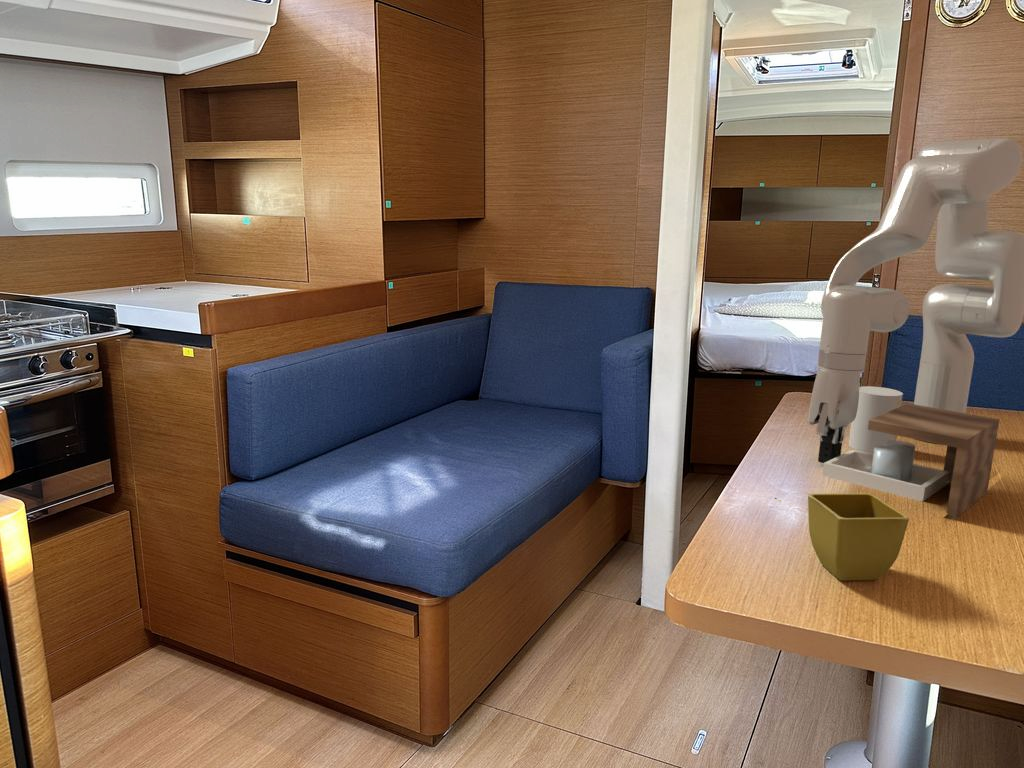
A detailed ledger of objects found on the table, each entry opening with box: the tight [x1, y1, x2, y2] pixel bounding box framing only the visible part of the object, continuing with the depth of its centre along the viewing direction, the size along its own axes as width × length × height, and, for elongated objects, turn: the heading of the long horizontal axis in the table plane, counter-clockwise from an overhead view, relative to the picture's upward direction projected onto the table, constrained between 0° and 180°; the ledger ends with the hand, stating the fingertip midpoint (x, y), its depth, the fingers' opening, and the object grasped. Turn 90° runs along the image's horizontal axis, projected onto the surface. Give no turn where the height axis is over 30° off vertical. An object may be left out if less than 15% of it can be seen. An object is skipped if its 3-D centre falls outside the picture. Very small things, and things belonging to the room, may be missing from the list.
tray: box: [821, 449, 949, 503], centre depth 129 cm, size 12×16×3 cm
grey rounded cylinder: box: [886, 439, 916, 482], centre depth 130 cm, size 4×4×6 cm
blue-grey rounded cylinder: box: [871, 446, 904, 480], centre depth 126 cm, size 4×4×6 cm
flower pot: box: [807, 492, 910, 581], centre depth 95 cm, size 9×9×9 cm
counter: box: [868, 402, 1000, 521], centre depth 124 cm, size 18×14×12 cm
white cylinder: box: [848, 385, 904, 454], centre depth 147 cm, size 8×8×12 cm
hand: (828, 462), depth 136 cm, fingers closed
